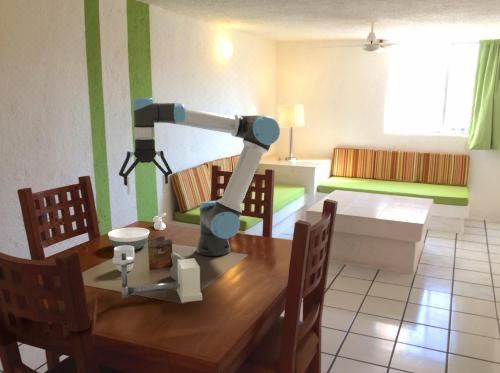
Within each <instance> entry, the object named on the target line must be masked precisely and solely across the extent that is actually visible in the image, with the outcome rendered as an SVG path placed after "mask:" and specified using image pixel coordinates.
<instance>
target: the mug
mask: <svg viewBox="0 0 500 373" xmlns="http://www.w3.org/2000/svg"><path fill="white" fill-rule="evenodd" d="M122 253H126V254H131V255H134V256H135V250H134V247H133V246H130V245H123V246H118V247H114V248H113V257H114V256H117V255H121V254H122ZM134 263H135V262H134ZM134 263H132V264H129V265H127V273H128V272H130V271H132V269H133V267H134ZM115 267H116V269H117V271H119V272H121V266H119V265H115Z"/></svg>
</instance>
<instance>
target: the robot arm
mask: <svg viewBox="0 0 500 373" xmlns="http://www.w3.org/2000/svg"><path fill="white" fill-rule="evenodd" d="M132 110H133V128H134V138H135V139H134V151H127V152H126V157H125V159H124V161H123V163H122V165H121V168H120V170H119V171H118V176H120V177H122V178H123V185H124V186H126V190H127V191H126V192H127V195H130V194H131V192H130V191H131V189H130V187H131V186H130V176H129V175H130V174H131V172H132V171H133V170H134V169H135V168H136V166H137V165H138V164H145V163H147V164H149V163H151V162H152V163H153V164H154V165H155V166H156V167H157V169H159V171H161V173H162V174H163V175H161V176H162V178H161V179H162V184H161V185H162V193H163V194H164V193H166V185H167V184H168V183H169V175H172V174H173V171H172V168H171V167H170V165H169V163H168V161H167V159H166V157H165V154H164V151H163V150H158V151H156V142H155V141H156V140H155V139H154V138H155V136H156V135H155V134H156V133H155V123H156V124H158V123H159V124H163V123H164V124H173V125H180V126H184V127H191V128H197V129H203V130H208V131H213V132H219V133H225V134H230V135H231V136H232V137H234V138H240V139H242V143H243V148H242V150H241V153H240V155H239V157H238V159H237V161H236V164H235V167H234V169H233V170H232V174H231V176H230V178H229V180H228V182H227V186H225V190H224V192H223V195H222V197H221V198H219V199H217V200H209V201H201V202H200V204H199V228H200V234H199V237H198V238H199V239H198V241H197V245H196V253H197V254H199V255H202V256H207V257H217V256H224V255H227V254H229V253H230V252H231V245H230V241H229V239H230V238H232V237H234V236H235V235H236V234H238V232H239V230H240V227H241V221H240V217H241V215H242V212H243V209H242V204H243V201H244V200H245V199H244V198H245V196H246V194H247V192H248V190H249V187H250V185H251V182H252V180H253V178H254V176H255V173H256V171H257V169H258V166H259V164H260V162H261V160H262V157H263V156H264V154H266V153H268V152H269V150H270V148H271V145H272V144H274V143H276V142H277V141H278V139H279V137H280V134H281V133H280V132H281V131H280V125H279V123H278V122H277V119H275V118H274V117H272V116H269V115H265V114H263V115H241V114H235V115H234V116H232V115H226V114H222V113H217V112H211V111H205V110H202V109H201V110H200V109H194V108H190V107H185V104H183V103H178V102H173V103H169V102H162V103H158V102H155V101H154V98H152V97H135V98H134V99H133V109H132ZM156 156H158V157H160V159H161V161H162V163H163V164H164V166H165V169H166V170H167V171H166V170H165V169H164V168H163V167H162V166H161V165H160V163H159V162H158V161H157V160H156V159H155V157H156ZM132 157H135V159H134V161H133V162H132V163H131V165H130V166H129V167H128V168H127V166H128V164H129V162H130V159H131V158H132ZM126 168H127V170H126ZM125 170H126V171H125Z"/></svg>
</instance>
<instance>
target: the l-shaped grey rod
mask: <svg viewBox="0 0 500 373" xmlns="http://www.w3.org/2000/svg"><path fill="white" fill-rule="evenodd" d="M135 259H136V258H135V254H134V255H131V254H126V253H122V254H121V255H117V256H114V255H113V257H112V264H113V265H115V266H116V265H119V266H121V274H120V275H121V297H122V298H129V296H130V295H131V296H132V295H139V294H148V293H157V292H167V291H177V289H178V288H179V287H180V284H179V283H178V282H177V281H172V282H162V283H152V284H143V285H135V286H129V285H128V272H127V265H129V264H132V263H135Z"/></svg>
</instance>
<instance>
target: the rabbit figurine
mask: <svg viewBox="0 0 500 373" xmlns="http://www.w3.org/2000/svg"><path fill="white" fill-rule="evenodd" d="M166 215H167V213H166V212H163V213H161V214H159V215H155V216H154V217H153V218H152V221H153V222H154V224H153V227H154V230H156V231H157V230H159V231H163V230H165V229H166V224H165V223H164V221H163V218H162V217H165V216H166Z"/></svg>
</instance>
